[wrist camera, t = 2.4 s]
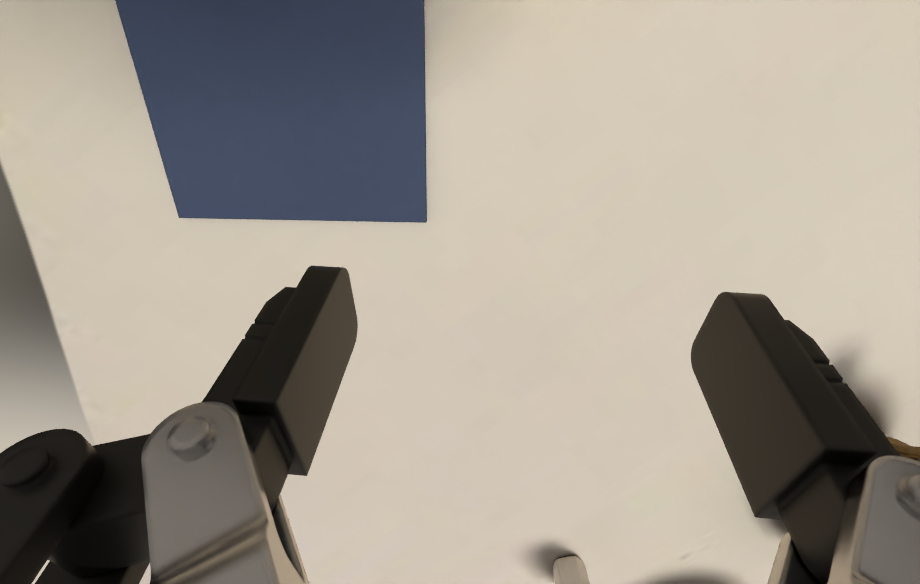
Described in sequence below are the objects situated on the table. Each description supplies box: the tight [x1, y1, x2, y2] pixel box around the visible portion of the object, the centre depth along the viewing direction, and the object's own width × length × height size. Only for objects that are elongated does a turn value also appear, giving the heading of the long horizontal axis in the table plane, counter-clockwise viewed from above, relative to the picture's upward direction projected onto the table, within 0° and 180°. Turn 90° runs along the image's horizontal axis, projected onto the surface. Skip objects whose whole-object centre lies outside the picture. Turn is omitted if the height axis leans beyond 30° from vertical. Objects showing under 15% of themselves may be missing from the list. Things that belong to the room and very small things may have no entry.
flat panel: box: [115, 0, 427, 222], centre depth 24 cm, size 12×15×1 cm
